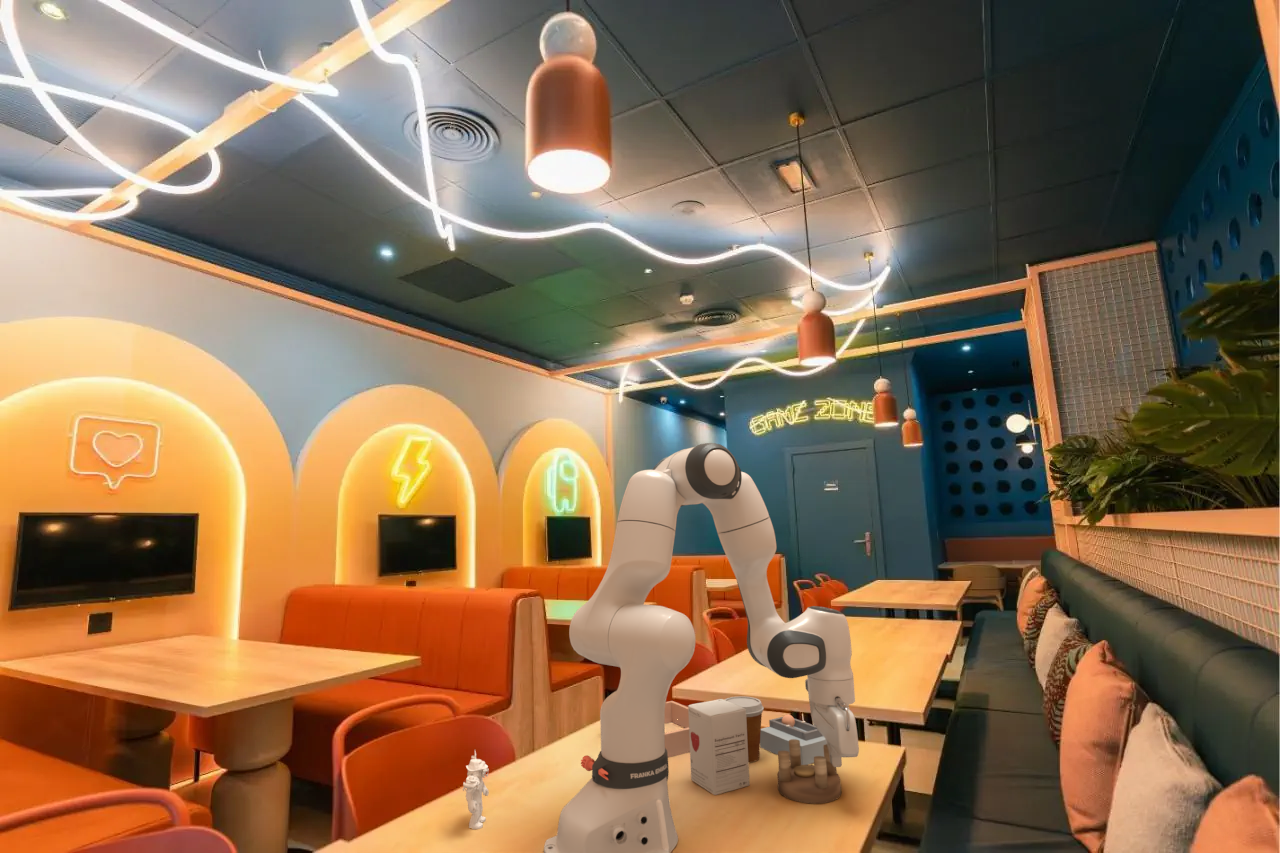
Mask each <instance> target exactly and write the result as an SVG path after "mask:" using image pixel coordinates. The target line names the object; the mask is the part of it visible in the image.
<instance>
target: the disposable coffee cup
mask: <svg viewBox="0 0 1280 853" xmlns="http://www.w3.org/2000/svg"><path fill="white" fill-rule="evenodd" d="M724 700H726V701H728V702H730V703H734V704H736V705H737V706H740V707H742V708H745V709H746V721H747V742H748V762H749V763H753V762H756V761H759V759H760V750H761V749H760V748H761V747H760V733H761V729H762V717H763V716H762V714H763V711H764V706H763V704H762V700H760V699H759V698H756V697H751V696H744V695H743V696H741V695H740V696H731V697H727V698H725V699H724Z"/></svg>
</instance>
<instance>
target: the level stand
mask: <svg viewBox="0 0 1280 853" xmlns="http://www.w3.org/2000/svg"><path fill="white" fill-rule="evenodd" d="M782 718H783V716H781V717H776V718H772V719H769V720H768V723H769V726H767V727H761V733H760V748H761V749H763V750H765V751H768V752H770V753H772V754H774V755H777V756H778V751H788V752H789V740H791V739H796V740H799V741H800V752H801V765H812V764H814V757H815V756H823V757H824V747H823V746H824V745H826V744H827V743H826V739H825V738H824V737H823V735H822V734H821V733H820V732H819V730H818V729H817V728H816V727H815V726H814V724H813V723H812V724H811V723H809V722H806V721H805V720H803V721H802V720H800V719H797V718H794V717H793V718H794V720H795V724H794V726H793V727H791V726H790V725H786V724H783V723H782ZM789 755H790V752H789Z"/></svg>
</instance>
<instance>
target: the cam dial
mask: <svg viewBox="0 0 1280 853" xmlns="http://www.w3.org/2000/svg"><path fill="white" fill-rule="evenodd" d="M823 747H824V757H823V756H815V757H814V763H813V764H814V765H813V764H808V765H801V752H800V741H799V740H796V739H791V740H789V752H790V755H789V752H788V751H778V755H777V758H778V760H777V761H778V772H777V774H776V775H777V777H776V778H777V790H778V792H779V794H781V796H783V797H785V798H786V799H788V800H791V801H795V802H799V803H804V804H825V803H830V802H833V801H835V800H838V799H839V798H840V797H841V795H842V786H841V785H842V784H841V777H840V775H839V774H838V772H837V767H834V766H833V765H832V764H831V763H830V758H829V751H828V747H827V744H826V745H824V746H823Z"/></svg>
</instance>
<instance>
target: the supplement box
mask: <svg viewBox="0 0 1280 853" xmlns="http://www.w3.org/2000/svg"><path fill="white" fill-rule="evenodd" d="M687 707H688V714H689V738H690V752H689V755H690V756H689V757H690V758H689V759H690V778H691V779H690V780H691V781H692V782H694V783H695V784H697V785H699V786H700V787H701V788H703V789H704V790H706V791H708V792H709V793H711V794H712V795H714V796H716V795H720V794H723V793H727V792H731V791H735V790H737V789H738V790H739V789H742V788H745V787H748V786H750V785H751V784H750V770H749V769H750V768H749V767H750V766H749V764H750V762H748V742H747V721H746V709H745V708H742V707H740V706H737V705H736V704H734V703H730V702H728V701H726V700H725V699H723V698H717V699H714V700H709V701H703V702H697V703H691V704H689V705H687Z"/></svg>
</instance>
